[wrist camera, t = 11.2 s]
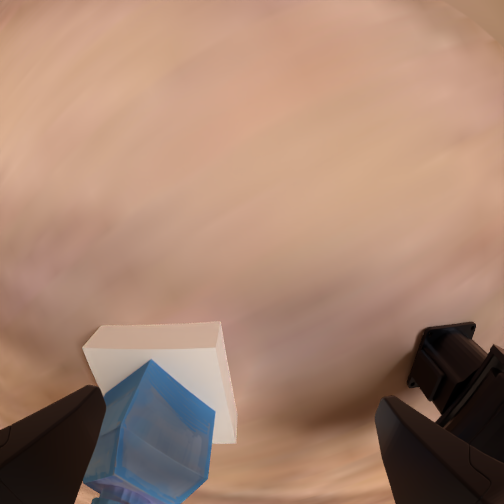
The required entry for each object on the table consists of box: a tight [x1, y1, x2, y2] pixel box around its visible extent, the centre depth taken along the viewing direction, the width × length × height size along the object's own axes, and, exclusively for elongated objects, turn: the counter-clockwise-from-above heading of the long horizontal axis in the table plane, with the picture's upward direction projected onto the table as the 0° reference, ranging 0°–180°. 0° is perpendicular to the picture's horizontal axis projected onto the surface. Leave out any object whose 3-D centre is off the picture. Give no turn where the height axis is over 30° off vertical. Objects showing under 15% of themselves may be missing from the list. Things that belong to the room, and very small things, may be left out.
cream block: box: [82, 321, 238, 444], centre depth 21 cm, size 10×10×4 cm
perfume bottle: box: [83, 359, 216, 504], centre depth 13 cm, size 6×6×12 cm
